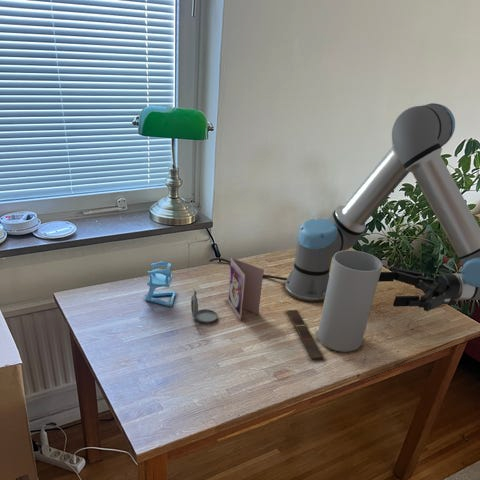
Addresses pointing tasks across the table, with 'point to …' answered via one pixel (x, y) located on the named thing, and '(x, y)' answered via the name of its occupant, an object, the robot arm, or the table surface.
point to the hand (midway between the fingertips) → (383, 288)
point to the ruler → (305, 335)
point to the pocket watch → (201, 311)
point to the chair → (160, 283)
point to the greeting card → (244, 287)
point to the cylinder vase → (348, 299)
